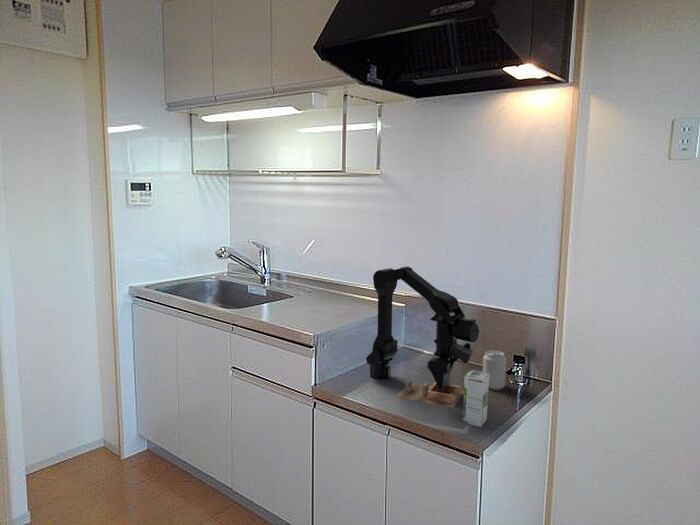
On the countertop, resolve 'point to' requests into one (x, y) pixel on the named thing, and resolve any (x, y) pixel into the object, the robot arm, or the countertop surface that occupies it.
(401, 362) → the countertop surface
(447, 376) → the cell
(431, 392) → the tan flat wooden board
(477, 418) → the syrup box
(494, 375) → the can
